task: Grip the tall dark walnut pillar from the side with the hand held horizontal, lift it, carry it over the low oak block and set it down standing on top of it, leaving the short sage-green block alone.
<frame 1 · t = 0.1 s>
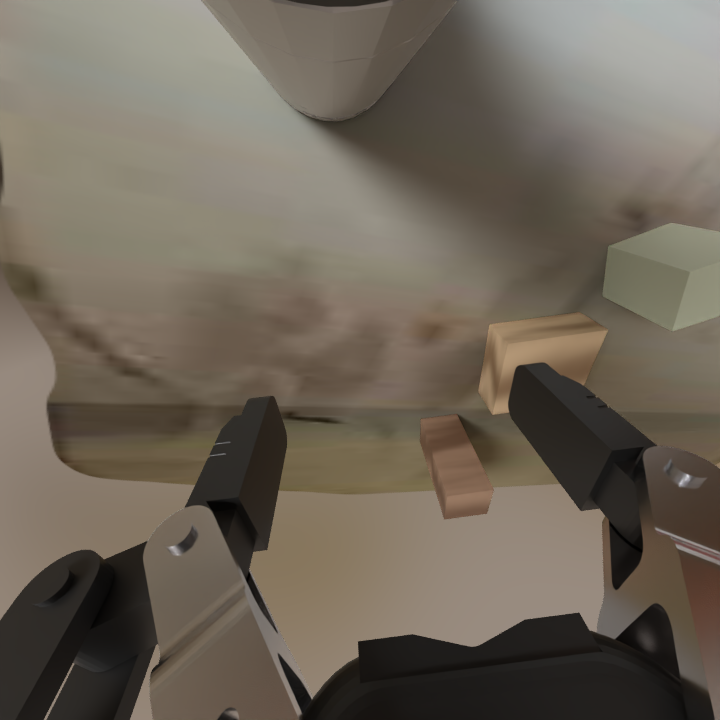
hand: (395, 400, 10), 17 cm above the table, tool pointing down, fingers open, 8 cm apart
sage green block: (634, 261, 26), on the table
walnut pillar: (437, 428, 37), on the table
oak base block: (523, 353, 31), on the table
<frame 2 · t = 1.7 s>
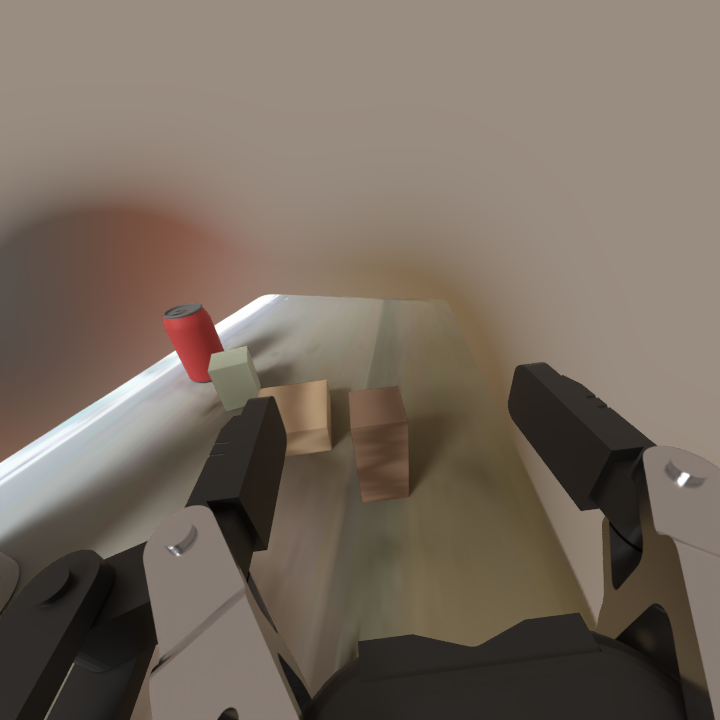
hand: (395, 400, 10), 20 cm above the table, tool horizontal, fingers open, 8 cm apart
sage green block: (244, 396, 44), on the table
beer can: (211, 374, 51), on the table
walnut pillar: (382, 479, 30), on the table
oak base block: (297, 429, 37), on the table
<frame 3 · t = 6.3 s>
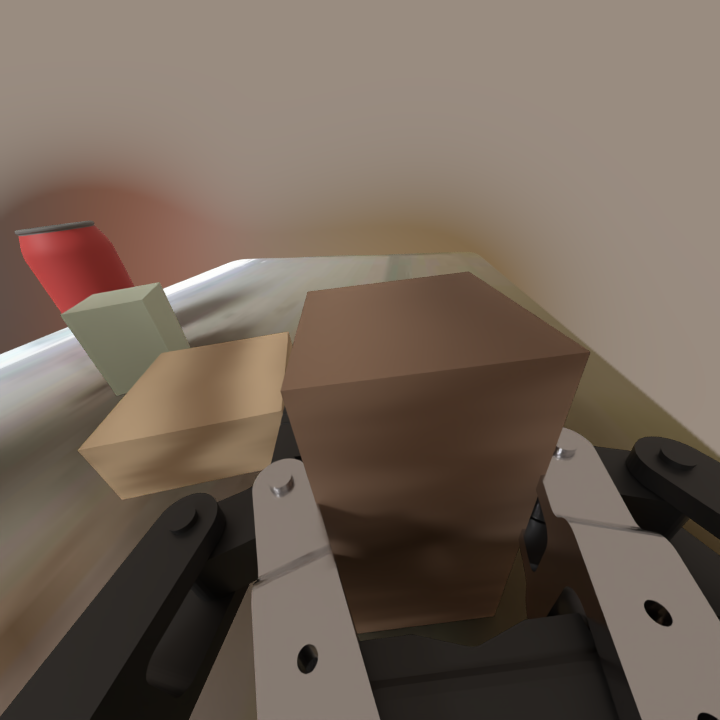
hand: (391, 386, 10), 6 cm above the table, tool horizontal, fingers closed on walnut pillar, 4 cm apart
sage green block: (158, 372, 26), on the table
beer can: (126, 342, 33), on the table
walnut pillar: (410, 550, 11), on the table, touching gripper
oak base block: (232, 425, 19), on the table
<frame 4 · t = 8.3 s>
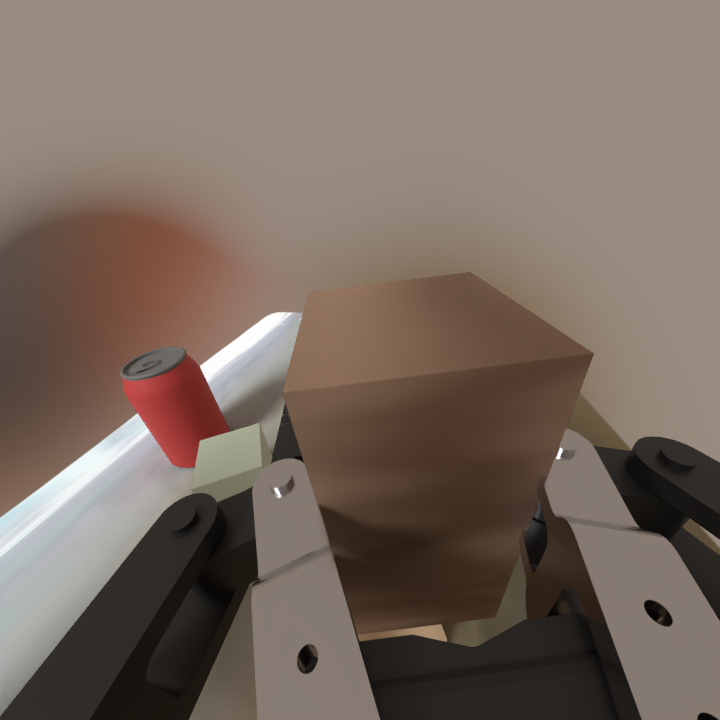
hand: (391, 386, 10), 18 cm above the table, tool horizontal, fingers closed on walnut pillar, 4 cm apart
sage green block: (254, 503, 27), on the table
beer can: (203, 448, 34), on the table
walnut pillar: (411, 550, 11), point 12 cm above the table, touching gripper
oak base block: (355, 595, 20), on the table
when the fingers open (11 cm above the table, at t = 10.6 s): walnut pillar drops 2 cm, resting on oak base block.
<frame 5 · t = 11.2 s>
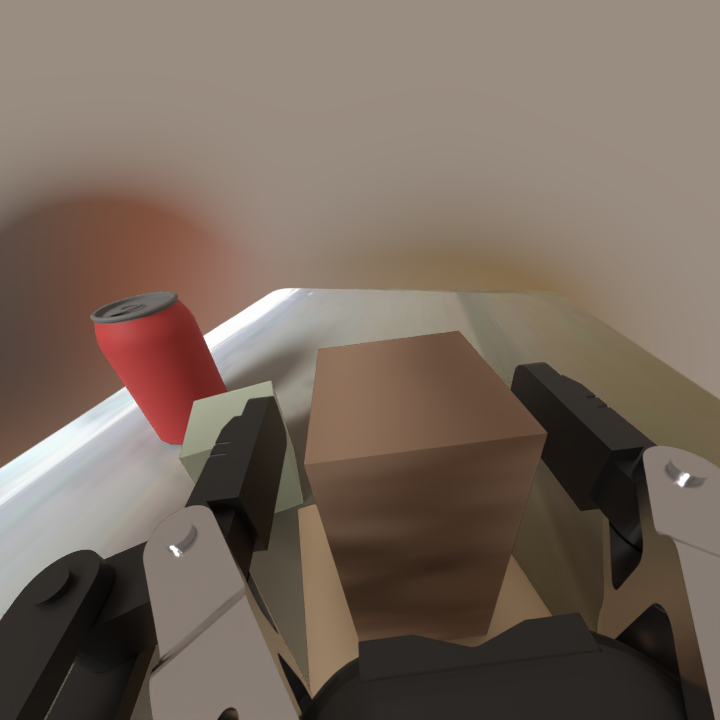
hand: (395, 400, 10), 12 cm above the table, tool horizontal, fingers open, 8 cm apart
sage green block: (264, 485, 21), on the table
beer can: (200, 423, 28), on the table
walnut pillar: (410, 572, 12), point 4 cm above the table, touching oak base block
oak base block: (411, 612, 14), on the table, touching walnut pillar
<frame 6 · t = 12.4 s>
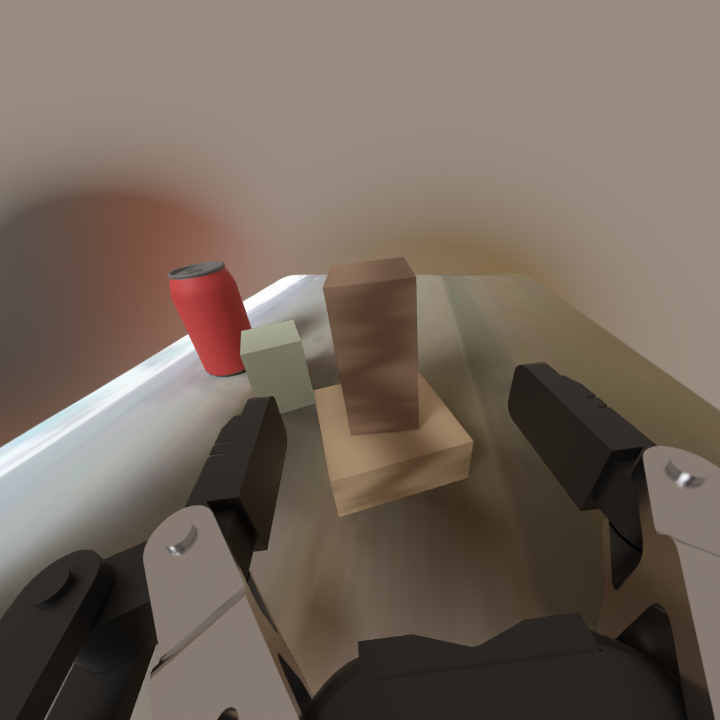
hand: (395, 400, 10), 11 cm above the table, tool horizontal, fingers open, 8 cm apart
sage green block: (287, 396, 30), on the table
beer can: (235, 365, 37), on the table
walnut pillar: (382, 409, 21), point 4 cm above the table
oak base block: (385, 449, 23), on the table
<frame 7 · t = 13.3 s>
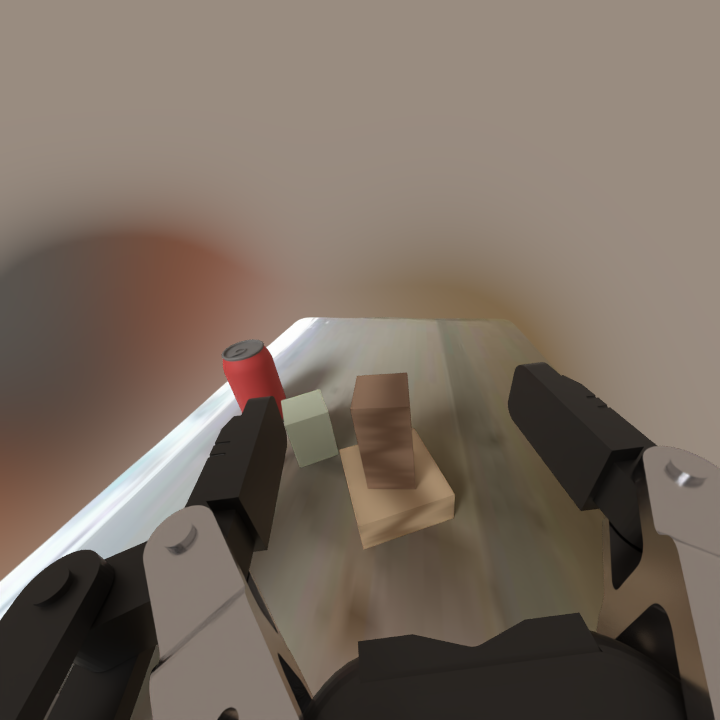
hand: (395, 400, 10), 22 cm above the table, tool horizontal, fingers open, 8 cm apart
sage green block: (315, 447, 38), on the table
beer can: (269, 416, 45), on the table
walnut pillar: (391, 468, 29), point 4 cm above the table
oak base block: (393, 494, 31), on the table
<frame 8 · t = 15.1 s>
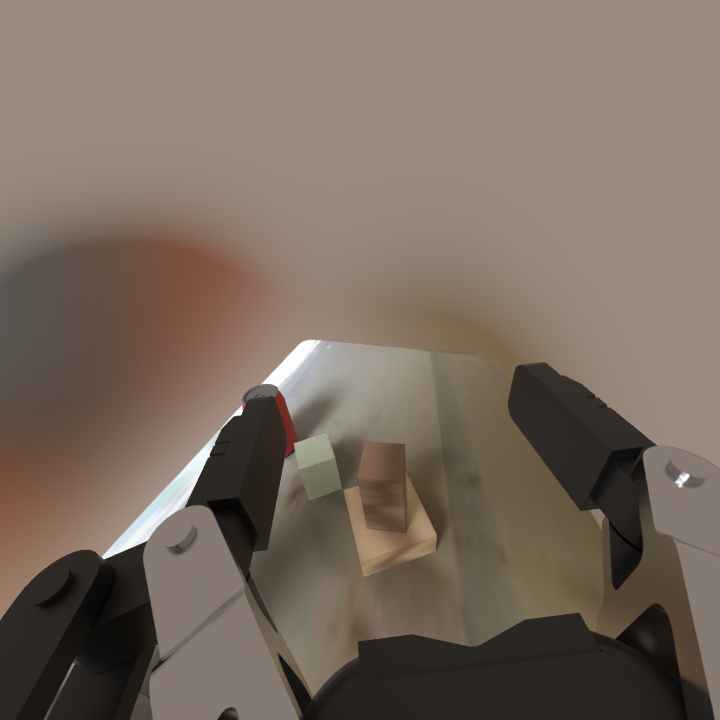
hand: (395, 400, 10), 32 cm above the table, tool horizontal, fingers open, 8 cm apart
sage green block: (322, 481, 44), on the table
beer can: (279, 447, 51), on the table
walnut pillar: (387, 512, 35), point 4 cm above the table, touching oak base block
oak base block: (387, 528, 38), on the table, touching walnut pillar
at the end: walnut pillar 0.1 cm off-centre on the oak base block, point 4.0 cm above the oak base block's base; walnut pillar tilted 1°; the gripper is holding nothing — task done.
